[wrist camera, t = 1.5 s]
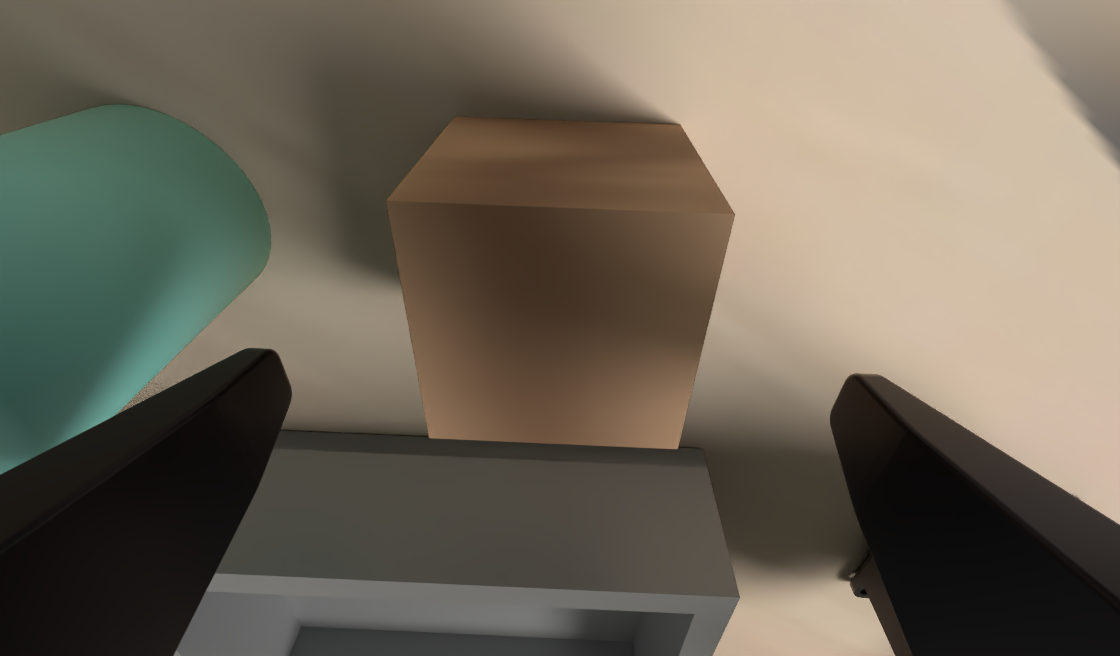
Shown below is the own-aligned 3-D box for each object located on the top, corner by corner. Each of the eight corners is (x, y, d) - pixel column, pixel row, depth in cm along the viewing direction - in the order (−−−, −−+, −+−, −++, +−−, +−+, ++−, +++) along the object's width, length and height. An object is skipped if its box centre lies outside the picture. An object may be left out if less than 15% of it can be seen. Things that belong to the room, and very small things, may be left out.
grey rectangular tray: (702, 448, 17) (740, 597, 13) (649, 634, 26) (662, 761, 21) (180, 426, 17) (60, 566, 13) (294, 617, 26) (240, 740, 22)
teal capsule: (231, 108, 11) (-121, 254, 6) (294, 297, 14) (104, 519, 9) (10, 100, 11) (-561, 236, 6) (118, 290, 14) (-187, 506, 9)
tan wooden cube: (679, 123, 11) (735, 214, 7) (650, 310, 14) (677, 449, 10) (455, 115, 11) (385, 200, 7) (472, 302, 14) (429, 438, 10)
